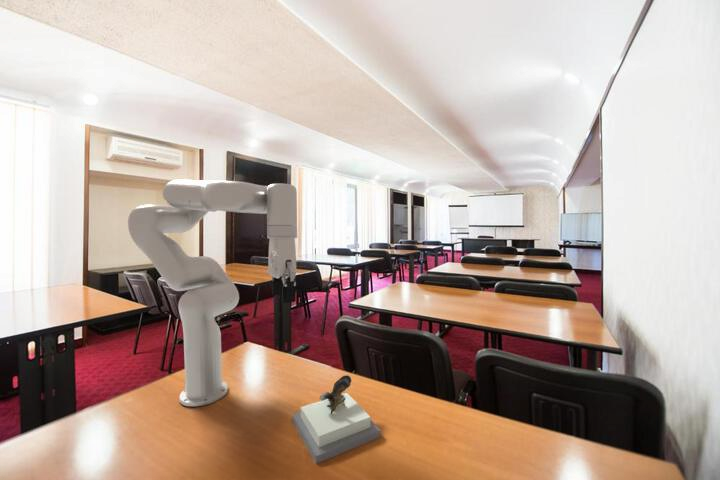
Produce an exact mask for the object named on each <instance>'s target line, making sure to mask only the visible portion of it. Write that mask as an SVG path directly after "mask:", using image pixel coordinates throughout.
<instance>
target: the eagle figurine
mask: <svg viewBox="0 0 720 480" xmlns="http://www.w3.org/2000/svg"><path fill="white" fill-rule="evenodd" d="M351 383H352V378H351V376H350V375H347V374H345V375H342V376H341V377H340V378H339V379H337V381H335V383H333V389H332V391H331V392H329V391H326V392H324V393H322V394H321V395H319V401H323V400H326V399H329V400H328V401H330V404H331V405H327V407H331V414H332V413H333V411H335V409H336V407H337V405H339V404H341V405H344V406H345V402H344V401H345V399H346V398H344V399H343V400H342V399H341V396H344V395H341V394H343V393H344V392H345V391H346V390H347V389H348V388H350V387H351Z"/></svg>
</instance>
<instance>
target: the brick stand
mask: <svg viewBox="0 0 720 480" xmlns="http://www.w3.org/2000/svg"><path fill="white" fill-rule="evenodd" d="M341 395H344V396H341V399H342V400H343V399H344V398H346V399H345V401H344V402H345V406H344V405H341V404H339V405H337V407H336V409H335V411H333V413H332V414H331V407H327V405H331V404H330V401H328V400H329V399H326V400H323V401H321V400H319V401H317V402H313V403H309V404H306V405H304V406H300V411H299V412H296V413H292V417H291V418H292V419H291V420H292V423H293V424H294V426H295V428H296V430H297V432H298V435H300V438H301V440H302V441H303V443H304V445H305V447H306V449H307V451H308V452H309V455H311V457H312V459H313V461H314V463H315V465H317V464H319V463H321V462H324V461H327V460H329V459H331V458H333V457H336V456H338V455H341V454H343V453H345V452H348V451H350V450H353V449H355V448H357V447H359V446H362V445H364V444H366V443H370V442H372V441H374V440H377V439H378V438H381V429H380V428H379V427H378V425H376V424H375V423H374V422H373V420H372V419H371V416H370V415H369V414H368V413H367V412H366V411H365V410H364V408H363V407H361V405H360V404H358V402H357V401H356V400H355V399H353V397H352V396H350V394H349V393H348V392H343V393H341Z"/></svg>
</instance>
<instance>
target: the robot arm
mask: <svg viewBox="0 0 720 480" xmlns="http://www.w3.org/2000/svg"><path fill="white" fill-rule="evenodd" d="M297 195H298V194H297V188H296V186H294V185H292V184H289V183H282V182H281V183H271V184H269V185H268V186H264V185H259V184H255V183H251V182H247V181H246V182H245V181H240V180H239V181H238V180H237V181H236V180H215V179H214V180H198V179H197V180H196V179H174V180H171V181H169V182H168V183H165V185H164V186H163V189H162V197H163V200H164V201H165V202H166V203H167V204H168V205H165V204H144V205H143V204H142V205H140V206H139V205H138V206H137V207H134V209H132V210H131V211H130V213H129V216H128V220H127V227H128V232H129V235H130V238H131V239H132V241H133V242H134V244H135V246H137V247H138V249H139V250H140V251H141V252H142V253H143V254H144V255H145V256H146V257H147V258H148V259H149V260H150V261H151V263H152V265H153V266H154V268H155V269H156V270H157V272H158V274H159V275H160V276H161V278H162V279H163V280H164V282H165V283H166V285H167V286H168V287H169V288H170V289H171V290H173V291H176V292H183V291H185V292H184V294H182V295H181V297H180V299H179V301H178V312H179V317H180V320H181V323H182V324H181V326H182V332H183V353H184V355H183V357H184V385H185V386H184V387H185V389H183V390H182V391H181V392H180V394H179V403H180V404H181V405H183V406H186V407H193V408H194V407H200V406H201V407H202V406H205V405H209V404H212V403H215V402H217V401H218V400H220V399H221V398H223V397H224V396H225V395H226V394H227V392H228V390H229V386H228V383H227V382H226V381H224V380H223V372H222V371H223V369H222V367H223V365H222V364H223V363H222V361H223V360H222V333H221V330H220V326H219V325H218V323H217V322H216V320H215V317H217V316H219V315H222V314H224V313H227V312H229V311H232V310H233V309H235V308H236V307H237V305H238V304H239V300H240V293H239V290H238V288H237V286H236V285H235V283H233V281H232V279H231V278H230V277H229V276H228V274H227V273H226V272H225V270H224V269H223V267H222V266H221V265H220V264H219V263H218V261H216V260H215V259H214V258H212V257H210V256H204V255H203V256H193V257H192V256H189V255H188V254H187V253H186V252H185V251H184V250H183V248H182V247H181V245H180V244H179V243H178V242H176V241H175V240H174V239H172V238H170V237H169V236H167V235H166V234H177V233H182V234H183V233H187V232H189V231H190V230H192V229H193V228H194V227H196V225H198V223H200V221H201V220H202V219H203V218H205V216H206V215H207V214H208V213H209V212H210V213H211V212H213V213H214V212H217V211H220V212H221V211H222V212H231V213H232V212H233V213H241V214H242V213H244V214H260V215H263V214H264V215H265V214H266V225H267V226H266V233H267V235H266V236H267V237H266V238H267V239H268V240H269V242H268V262H267V264H268V265H267V266H268V267H267V271H268V272H267V273H268V274H269V275H270V276H271V294H272V296H280V295H281V298H282V299H281V300H282V301H281V302H282V303H283V304H289V303H295V302H296V300H297V297H296V291H297V288H296V287H297V283H296V279H297V278H296V275H297V254H296V253H297V252H296V251H297V250H296V240H295V239H297V238H298V196H297Z"/></svg>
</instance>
